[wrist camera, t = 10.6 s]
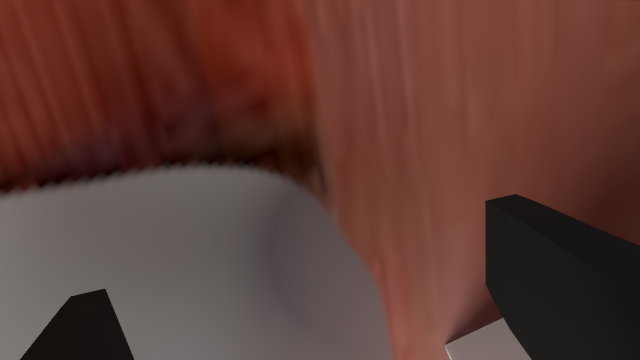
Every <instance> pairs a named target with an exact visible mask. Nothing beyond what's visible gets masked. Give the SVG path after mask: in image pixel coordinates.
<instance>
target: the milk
mask: <svg viewBox="0 0 640 360" xmlns="http://www.w3.org/2000/svg"><path fill="white" fill-rule="evenodd" d="M444 346H445V348H446V350H447V352H448V355H449V357H450V359H451V360H531V358H530V357H529V355H528V354H527V353H526V351H525V350H524V349H523V347H522V346H521V344H520V343H519V342H518V340H517V339H516V337H515V336H514V335H513V333H512V332H511V330H510V329H509V327H508V325H507V324H506V322H505V320H504V318H502V319H499V320H497V321H495V322H493V323H491V324H489V325H487V326H485V327H482V328H480V329H478V330H476V331H474V332H472V333H470V334H467V335H465V336H463V337H461V338H459V339H457V340H455V341H453V342H450V343H448V344H446V345H444Z"/></svg>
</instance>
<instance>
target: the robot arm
mask: <svg viewBox="0 0 640 360" xmlns="http://www.w3.org/2000/svg"><path fill="white" fill-rule="evenodd" d="M486 286H487V288H488V290H489V292H490V294H491V296H492V298H493V300H494V302H495V303H496V305H497V307H498V309H499V311H500V313H501V315H502V316H503V318H504V320H505V322H506V324H507V325H508V327H509V329H510V330H511V332H512V333H513V335H514V336H515V337H516V339H517V340H518V342H519V343H520V344H521V346H522V347H523V349H524V350H525V351H526V353H527V354H528V355H529V357H530V358H531V360H640V246H638V245H636V244H633V243H631V242H628V241H626V240H623V239H621V238H618V237H616V236H614V235H611V234H609V233H606V232H604V231H602V230H599V229H597V228H595V227H592V226H590V225H588V224H585V223H583V222H581V221H579V220H576V219H574V218H572V217H570V216H567V215H565V214H563V213H560V212H558V211H556V210H554V209H551V208H549V207H547V206H544V205H542V204H540V203H537V202H535V201H533V200H530V199H528V198H525V197H522V196H520V195H517V194H514V195H509V196H505V197H501V198H496V199H492V200H488V201H486ZM20 360H134V358H133V355H132V353H131V350H130V348H129V346H128V343H127V341H126V338H125V336H124V333H123V331H122V329H121V326H120V324H119V321H118V319H117V316H116V314H115V311H114V309H113V307H112V304H111V302H110V299H109V297H108V294H107V292H106V290H105V289H101V290H97V291H93V292H89V293H84V294H79V295H75V296H71V297H70V298H69V299H68V300H67V301H66V303H65V304H64V305H63V306H62V307H61V308H60V310H59V311H58V312H57V314H56V315H55V316H54V317H53V318H52V320H51V321H50V322H49V324H48V325H47V326H46V327H45V329H44V330H43V331H42V333H41V334H40V335H39V336H38V338H37V339H36V340H35V341H34V343H33V344H32V345H31V347H30V348H29V349H28V350H27V351H26V353H25V354H24V355H23V357H22V358H21V359H20Z"/></svg>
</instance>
